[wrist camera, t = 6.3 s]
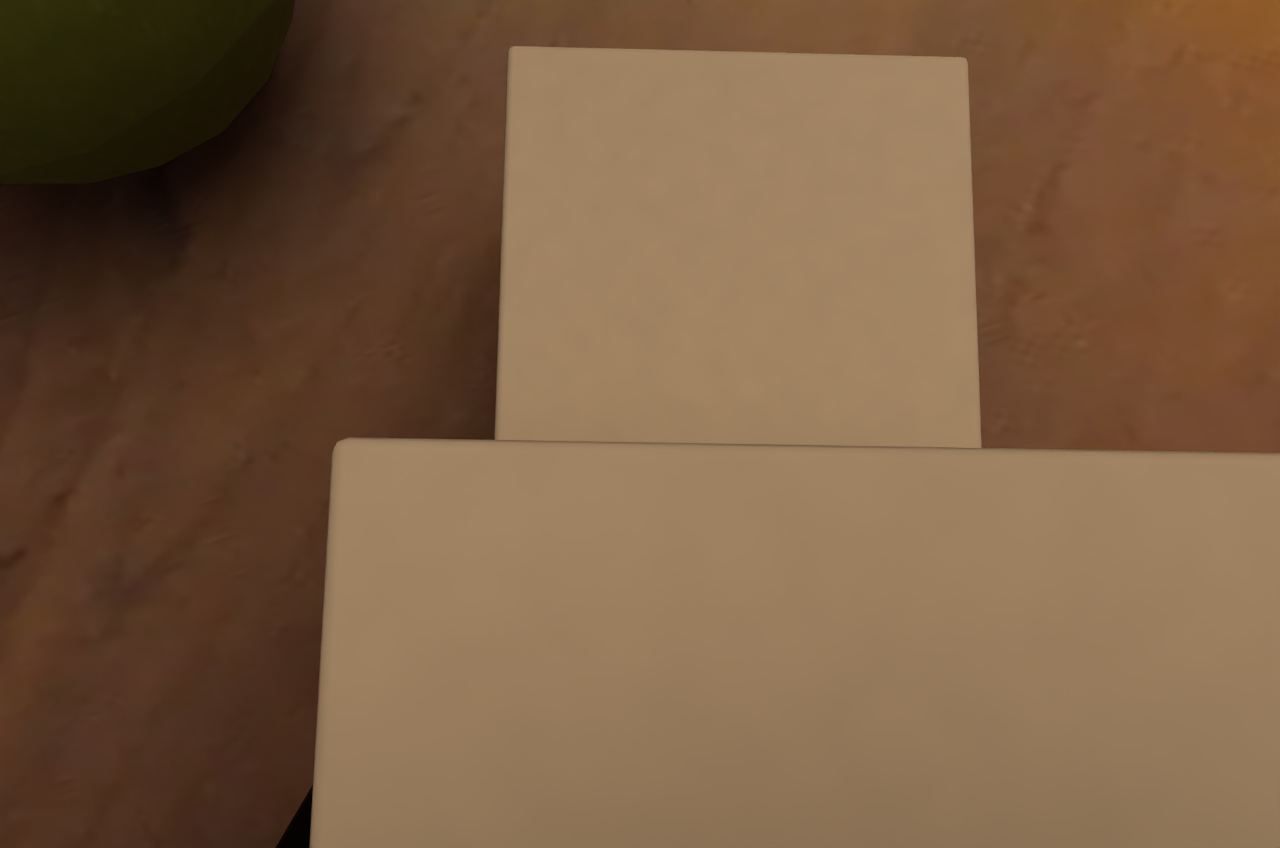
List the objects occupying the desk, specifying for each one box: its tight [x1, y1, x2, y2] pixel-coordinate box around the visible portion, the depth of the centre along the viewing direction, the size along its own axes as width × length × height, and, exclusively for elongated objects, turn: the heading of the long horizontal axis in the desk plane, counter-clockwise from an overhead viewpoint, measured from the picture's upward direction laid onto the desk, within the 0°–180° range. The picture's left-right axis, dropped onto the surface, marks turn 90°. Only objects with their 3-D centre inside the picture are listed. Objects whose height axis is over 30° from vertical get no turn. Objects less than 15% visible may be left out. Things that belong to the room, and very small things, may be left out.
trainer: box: [309, 46, 1280, 848], centre depth 11 cm, size 11×5×11 cm, turn 179°
